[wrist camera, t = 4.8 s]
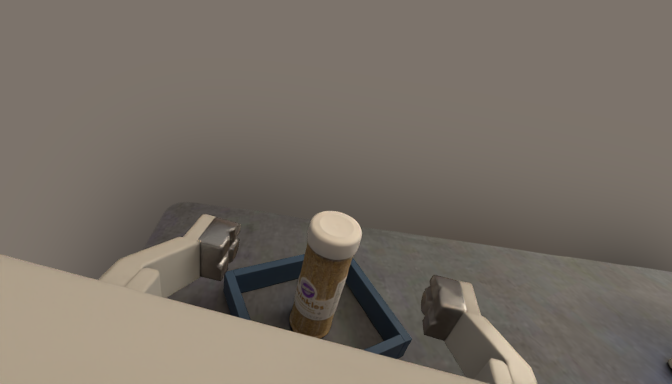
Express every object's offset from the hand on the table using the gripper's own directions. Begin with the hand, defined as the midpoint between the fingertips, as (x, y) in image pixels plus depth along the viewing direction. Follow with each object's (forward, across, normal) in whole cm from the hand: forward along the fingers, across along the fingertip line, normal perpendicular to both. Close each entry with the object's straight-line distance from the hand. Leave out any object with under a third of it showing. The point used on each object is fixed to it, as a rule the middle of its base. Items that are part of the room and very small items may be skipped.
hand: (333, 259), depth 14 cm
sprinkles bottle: (+12, 0, +21) cm, 24 cm away
